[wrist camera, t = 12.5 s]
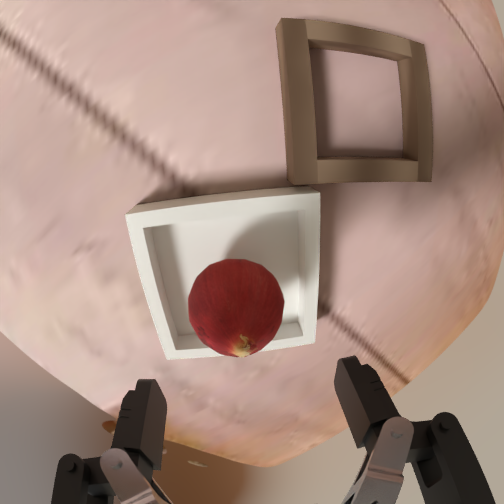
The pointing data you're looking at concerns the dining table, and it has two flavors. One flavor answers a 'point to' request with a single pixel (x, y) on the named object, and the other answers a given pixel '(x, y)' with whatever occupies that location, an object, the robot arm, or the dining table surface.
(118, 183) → the dining table surface
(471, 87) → the dining table surface
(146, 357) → the dining table surface
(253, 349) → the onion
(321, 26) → the frame
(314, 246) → the tray
